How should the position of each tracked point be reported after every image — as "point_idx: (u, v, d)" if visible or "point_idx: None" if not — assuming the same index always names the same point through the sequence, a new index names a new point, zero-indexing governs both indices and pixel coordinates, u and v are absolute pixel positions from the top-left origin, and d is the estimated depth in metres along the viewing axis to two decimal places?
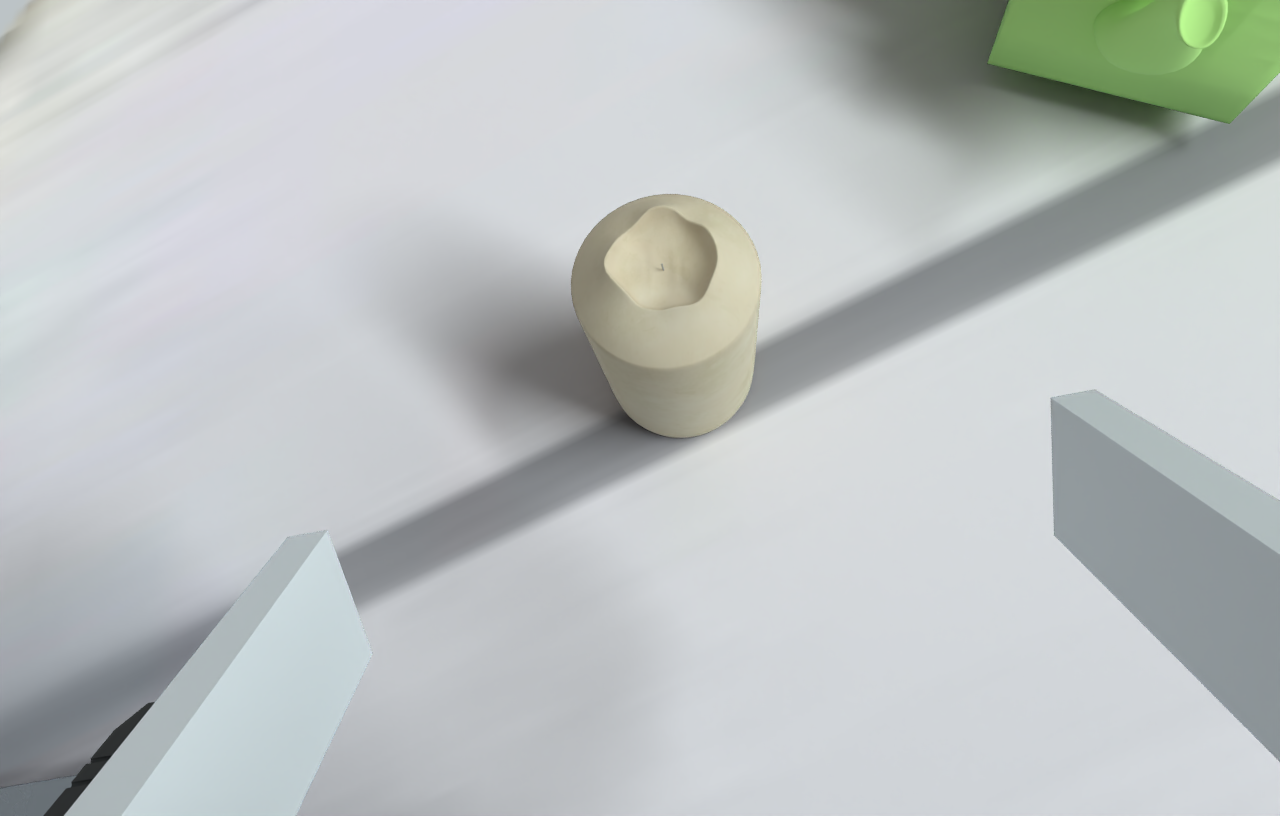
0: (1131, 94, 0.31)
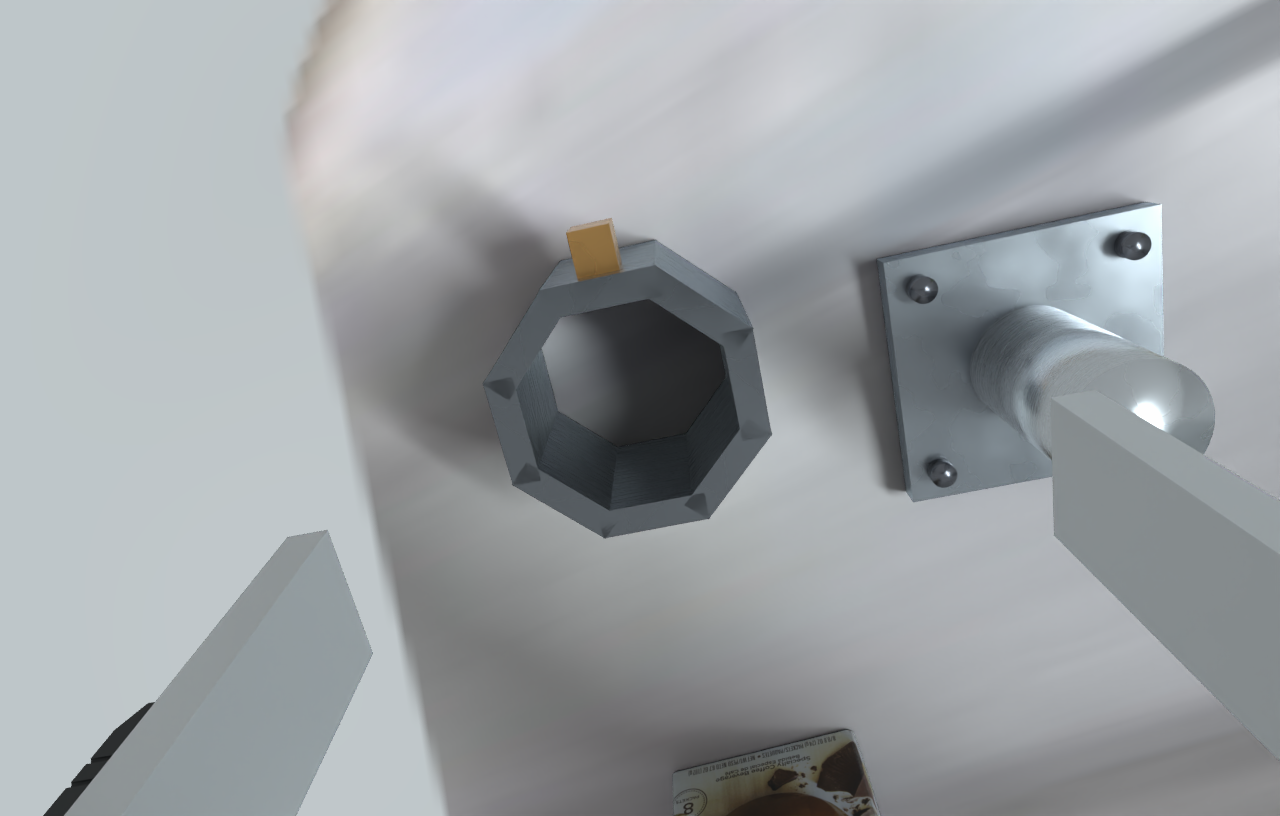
0: None
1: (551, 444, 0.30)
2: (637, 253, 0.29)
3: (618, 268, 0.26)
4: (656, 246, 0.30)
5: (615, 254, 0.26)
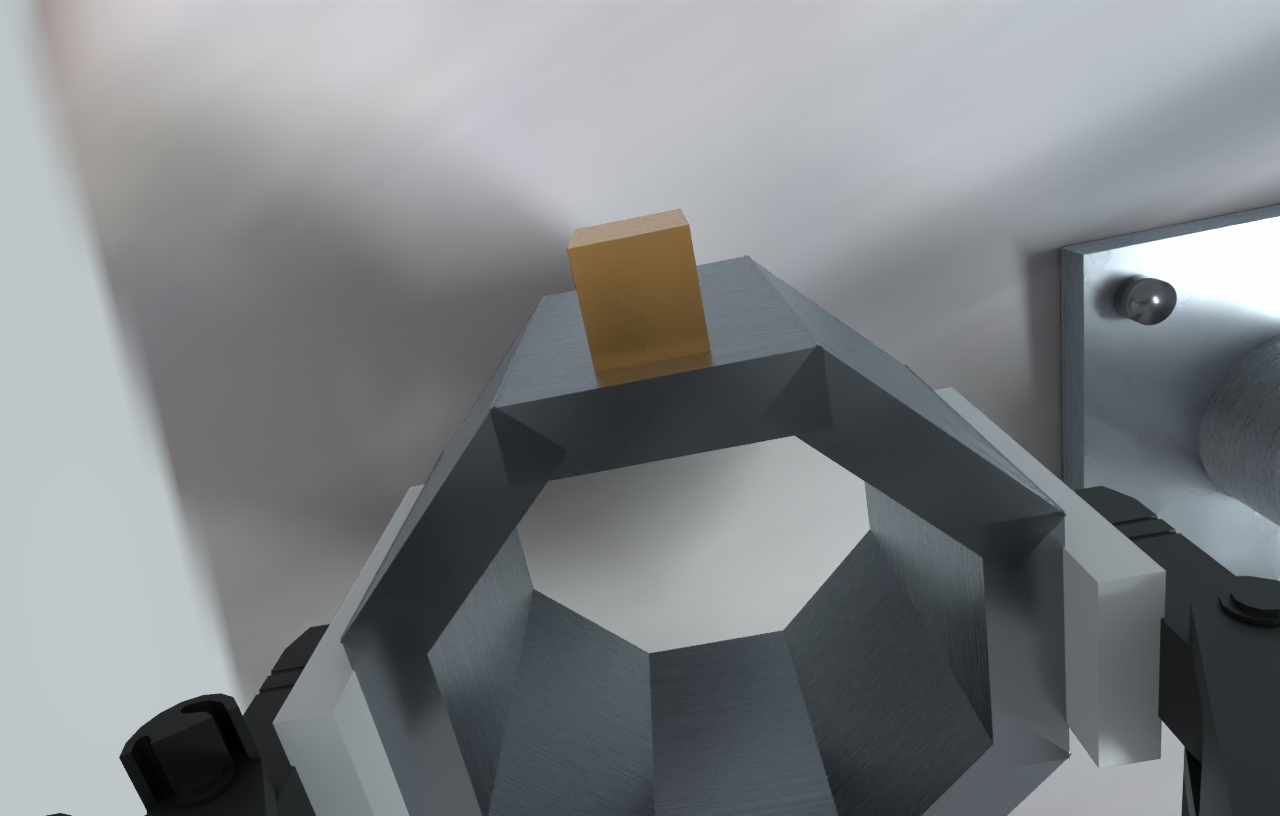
0: None
1: (520, 708, 0.14)
2: (727, 292, 0.12)
3: (707, 347, 0.10)
4: (763, 274, 0.13)
5: (701, 309, 0.10)
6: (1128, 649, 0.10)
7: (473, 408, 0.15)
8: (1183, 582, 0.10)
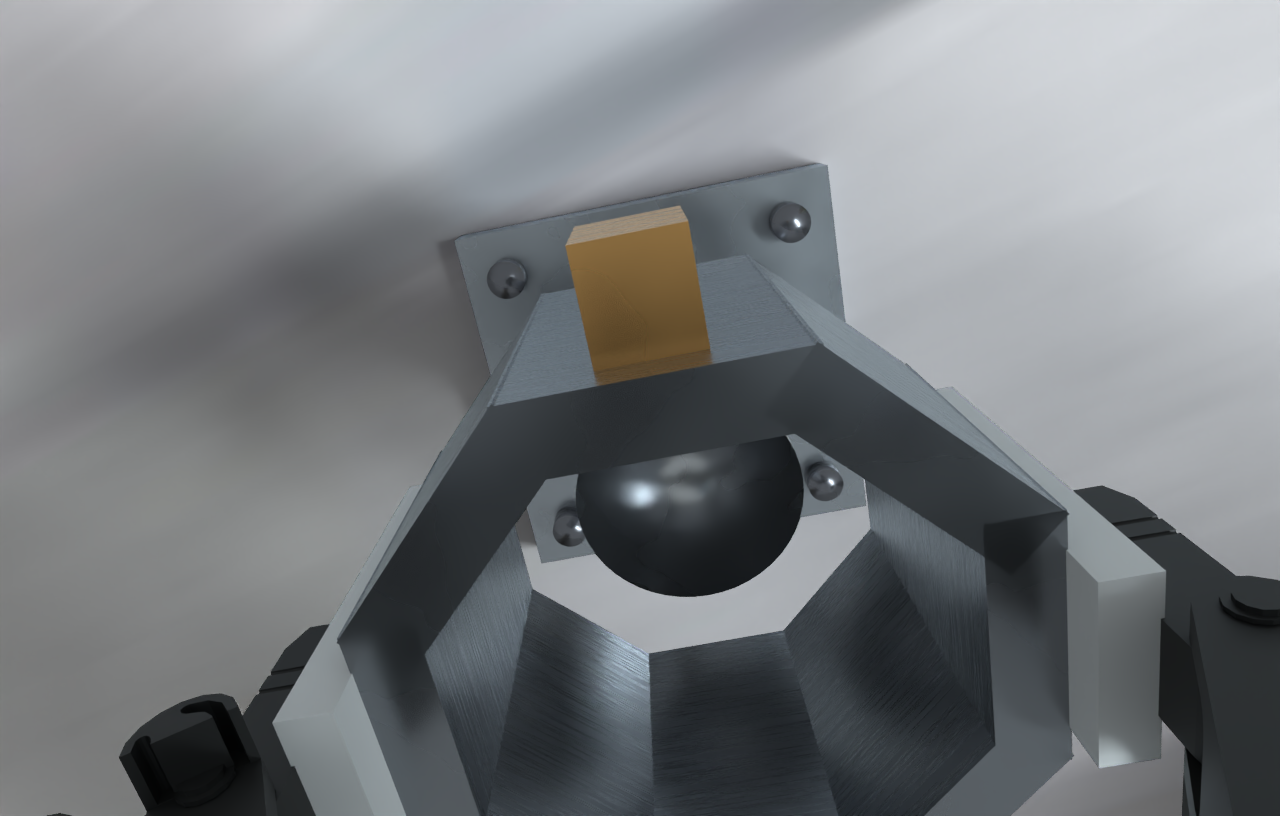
0: None
1: (518, 708, 0.14)
2: (727, 290, 0.12)
3: (707, 344, 0.10)
4: (763, 272, 0.13)
5: (701, 307, 0.09)
6: (1128, 649, 0.10)
7: (471, 407, 0.15)
8: (1183, 582, 0.10)
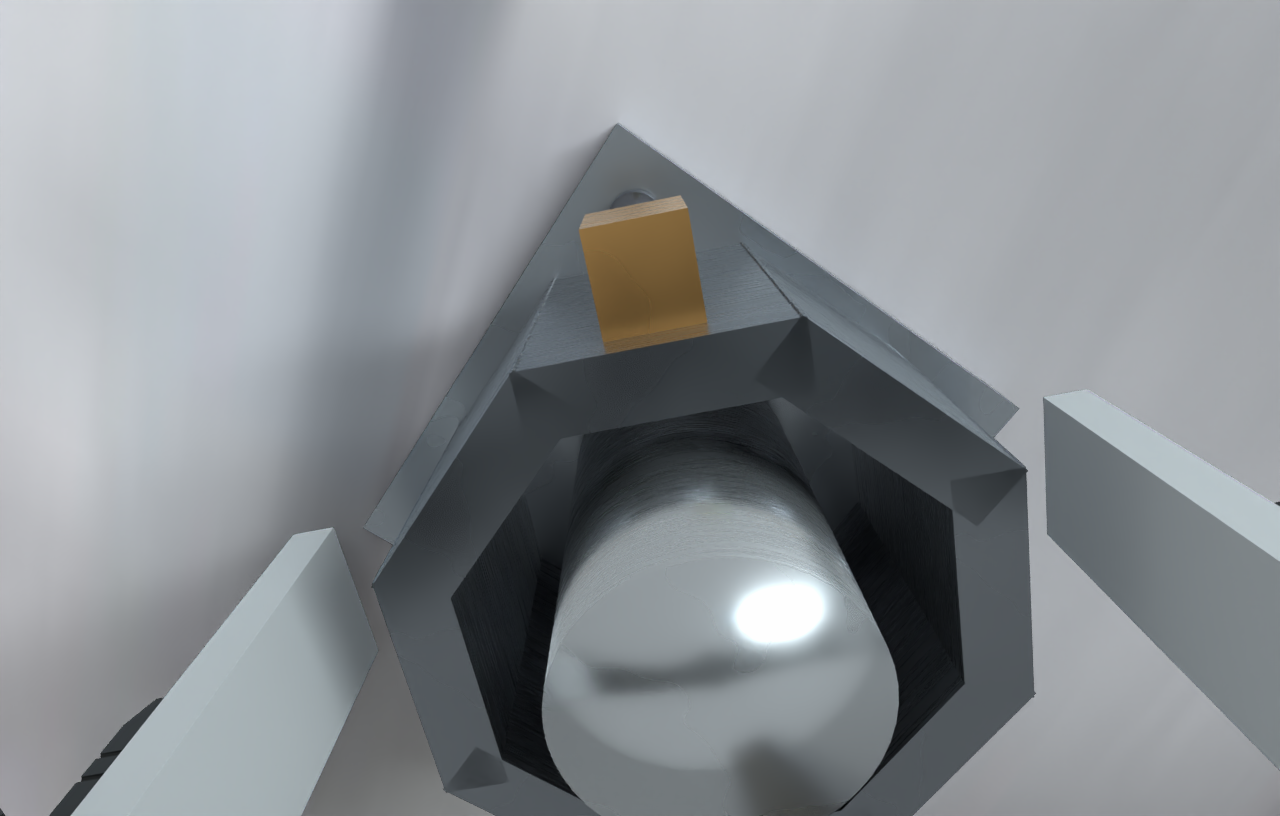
0: None
1: (531, 660, 0.15)
2: (723, 274, 0.13)
3: (704, 318, 0.11)
4: (756, 258, 0.14)
5: (699, 284, 0.11)
6: None
7: (487, 384, 0.16)
8: None
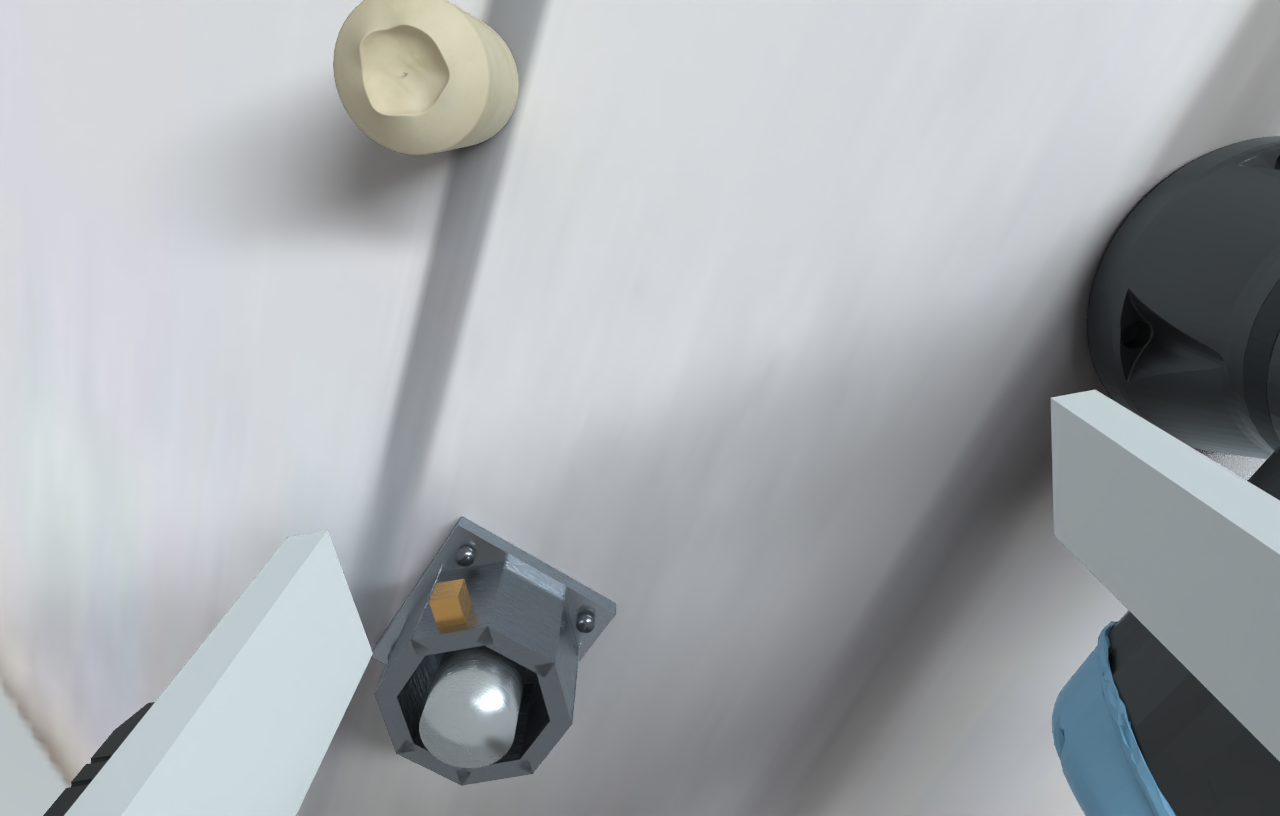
0: None
1: None
2: (486, 588, 0.42)
3: (465, 622, 0.39)
4: (502, 577, 0.43)
5: (463, 613, 0.39)
6: None
7: (415, 610, 0.44)
8: None
